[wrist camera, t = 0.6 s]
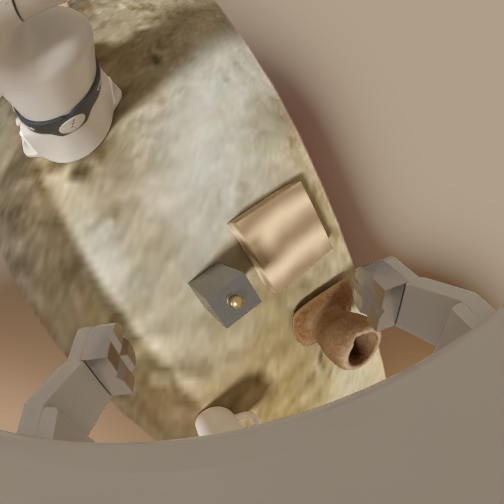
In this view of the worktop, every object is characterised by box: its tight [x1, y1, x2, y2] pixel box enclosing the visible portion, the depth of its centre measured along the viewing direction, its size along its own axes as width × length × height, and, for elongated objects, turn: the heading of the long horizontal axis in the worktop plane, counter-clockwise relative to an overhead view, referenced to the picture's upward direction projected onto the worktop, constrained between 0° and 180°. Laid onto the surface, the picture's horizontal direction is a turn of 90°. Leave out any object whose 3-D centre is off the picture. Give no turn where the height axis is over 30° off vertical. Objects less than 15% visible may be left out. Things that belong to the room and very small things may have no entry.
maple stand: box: [228, 181, 333, 294], centre depth 48 cm, size 14×14×4 cm
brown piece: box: [292, 279, 381, 370], centre depth 49 cm, size 15×12×15 cm
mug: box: [195, 406, 262, 436], centre depth 44 cm, size 12×8×10 cm
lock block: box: [188, 263, 262, 328], centre depth 40 cm, size 5×6×12 cm
